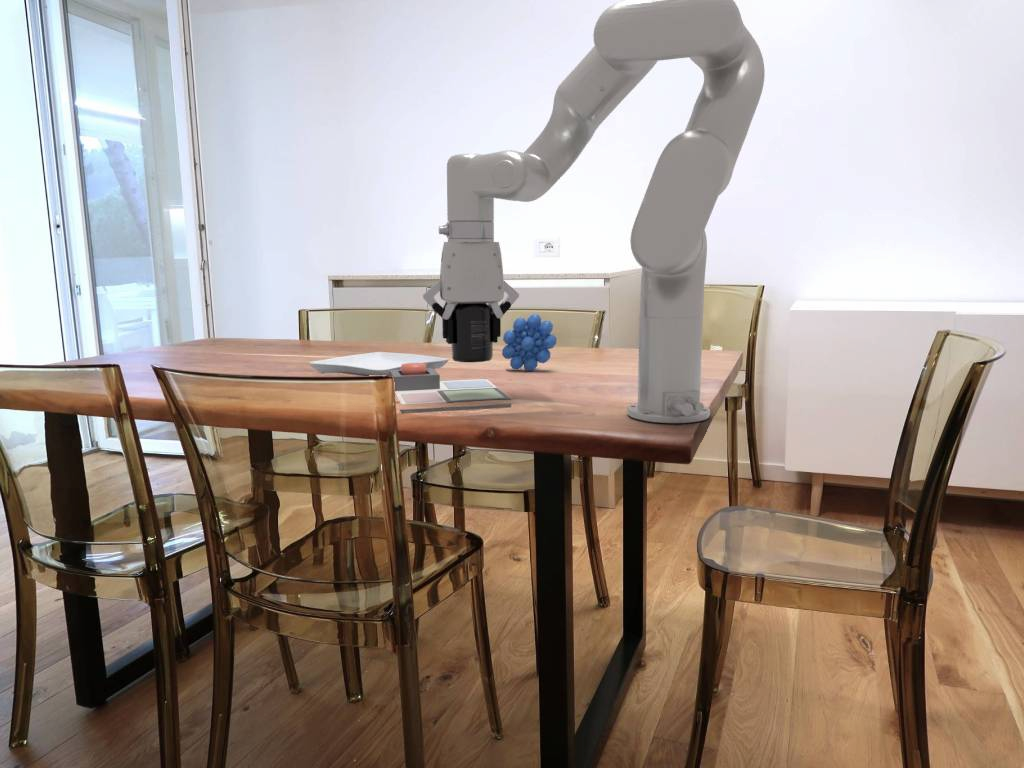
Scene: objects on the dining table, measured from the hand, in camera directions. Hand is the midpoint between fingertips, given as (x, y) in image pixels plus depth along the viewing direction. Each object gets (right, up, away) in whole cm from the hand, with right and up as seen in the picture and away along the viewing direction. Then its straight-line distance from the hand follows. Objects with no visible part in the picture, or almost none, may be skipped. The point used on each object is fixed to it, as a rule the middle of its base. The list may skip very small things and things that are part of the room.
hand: (471, 341), depth 138 cm
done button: (-11, -6, +10) cm, 16 cm away
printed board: (-5, -10, +6) cm, 12 cm away
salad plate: (-21, -5, +35) cm, 41 cm away
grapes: (+10, -4, +37) cm, 39 cm away
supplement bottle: (0, -3, +1) cm, 3 cm away
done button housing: (-11, -7, +11) cm, 17 cm away
